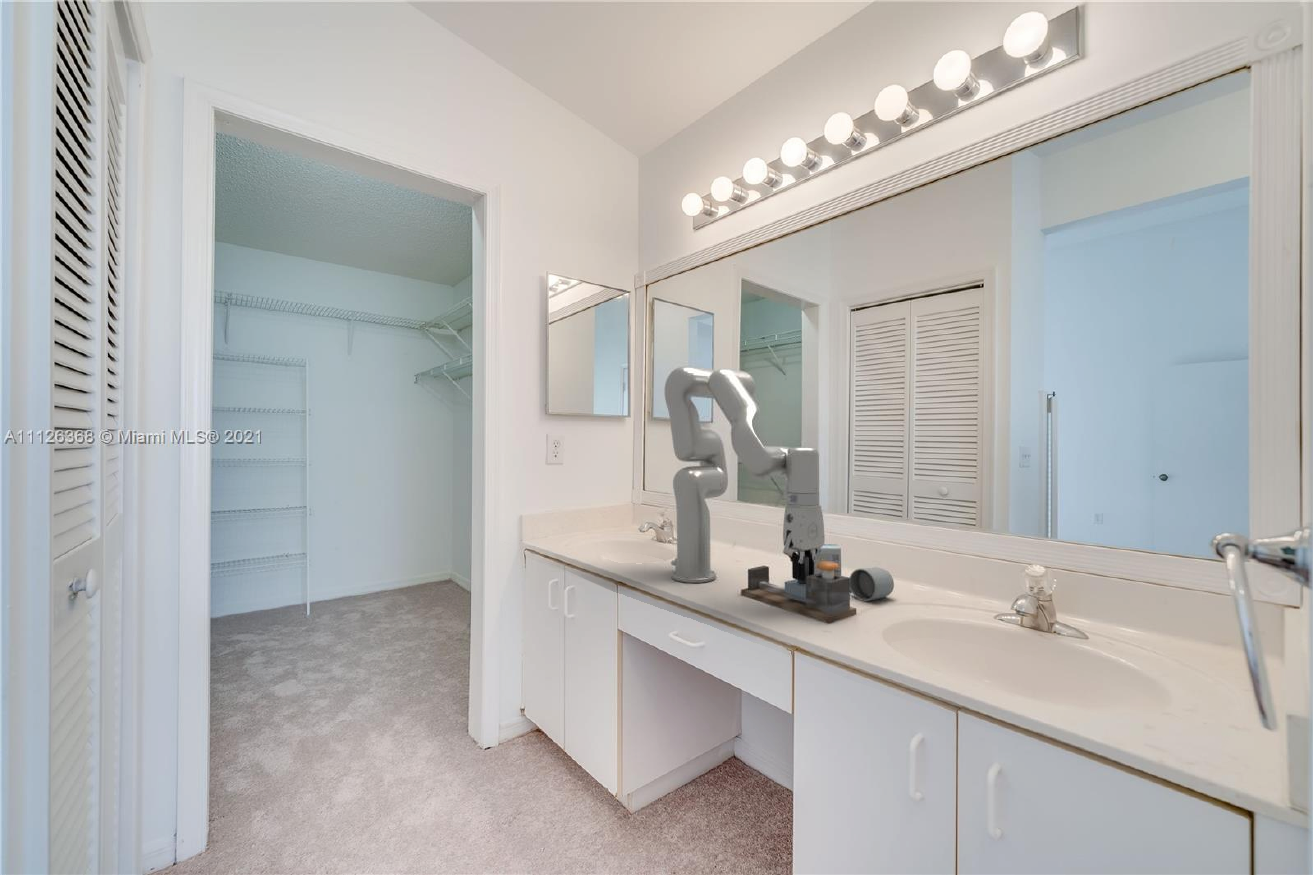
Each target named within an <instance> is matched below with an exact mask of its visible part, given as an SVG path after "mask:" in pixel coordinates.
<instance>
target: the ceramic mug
mask: <svg viewBox="0 0 1313 875" xmlns="http://www.w3.org/2000/svg"><path fill="white" fill-rule="evenodd" d="M849 578H850V593H852V595H853V596H855V598H856V599H858V600H859V601H862V602H870V601H874V600H879V599H883V598H885V597H888V596H889V595H891V594H892V592H893V591H894V588H895V583H894V578H893V577H892V575H891V573H890V572H889V571H888V570H886V569H884V568H881V567H864V568H863V567H862V568H861V567H860V568H857V569H855V570H853V571H852V572H851V573H850V576H849Z"/></svg>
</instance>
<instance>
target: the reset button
mask: <svg viewBox="0 0 1313 875" xmlns="http://www.w3.org/2000/svg"><path fill="white" fill-rule="evenodd" d="M817 565H818V569H821V570H822V579H826V580H834V570H838V564H837V563H835V562H828V561H822V562H818V563H817Z"/></svg>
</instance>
